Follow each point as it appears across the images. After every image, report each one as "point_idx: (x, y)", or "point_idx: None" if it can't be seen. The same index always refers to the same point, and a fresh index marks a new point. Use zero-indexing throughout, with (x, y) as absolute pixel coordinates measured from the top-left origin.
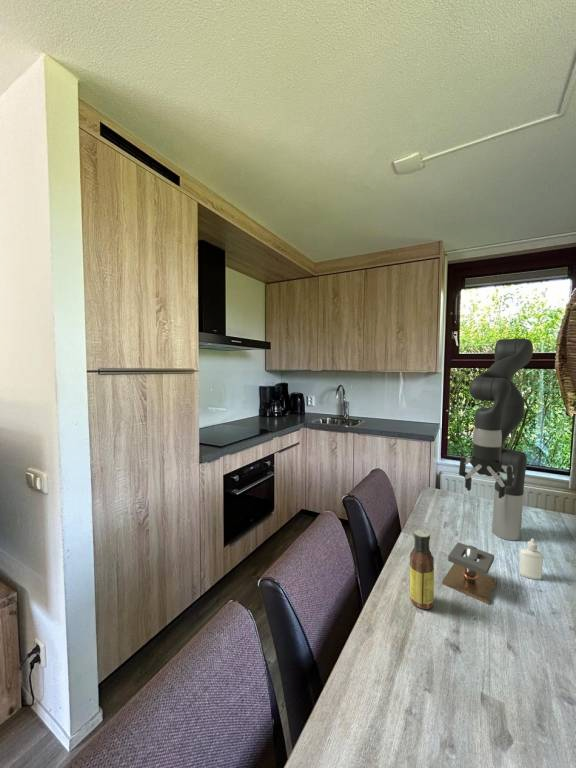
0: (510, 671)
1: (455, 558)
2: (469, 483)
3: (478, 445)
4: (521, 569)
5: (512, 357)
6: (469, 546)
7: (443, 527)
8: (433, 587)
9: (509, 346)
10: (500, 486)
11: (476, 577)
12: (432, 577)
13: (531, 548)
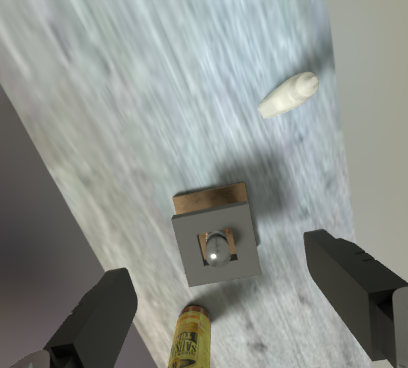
0: (313, 330)
1: (203, 284)
2: (114, 358)
3: None
4: (267, 117)
5: None
6: (211, 253)
7: (68, 61)
8: (209, 342)
9: None
10: (383, 351)
11: (227, 230)
12: (209, 366)
13: (303, 98)
